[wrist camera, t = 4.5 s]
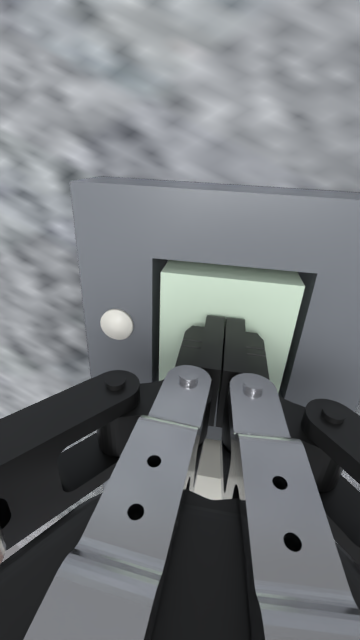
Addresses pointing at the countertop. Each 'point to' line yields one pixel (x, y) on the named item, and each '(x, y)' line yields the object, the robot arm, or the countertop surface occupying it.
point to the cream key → (209, 471)
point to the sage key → (229, 307)
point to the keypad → (225, 249)
